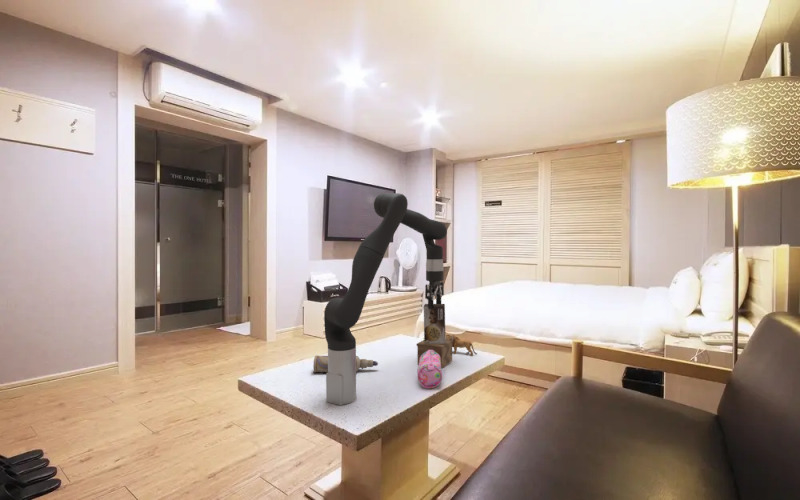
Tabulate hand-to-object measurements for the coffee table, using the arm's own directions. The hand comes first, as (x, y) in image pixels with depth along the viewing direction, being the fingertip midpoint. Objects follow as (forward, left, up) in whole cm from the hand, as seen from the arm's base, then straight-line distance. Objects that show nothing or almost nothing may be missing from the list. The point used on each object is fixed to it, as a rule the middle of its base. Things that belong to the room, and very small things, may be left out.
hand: (434, 307), depth 160 cm
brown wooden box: (0, 0, -24) cm, 24 cm away
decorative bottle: (-28, +28, -24) cm, 46 cm away
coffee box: (0, 0, -15) cm, 15 cm away
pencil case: (-19, -6, -24) cm, 31 cm away
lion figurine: (+17, -5, -24) cm, 30 cm away
